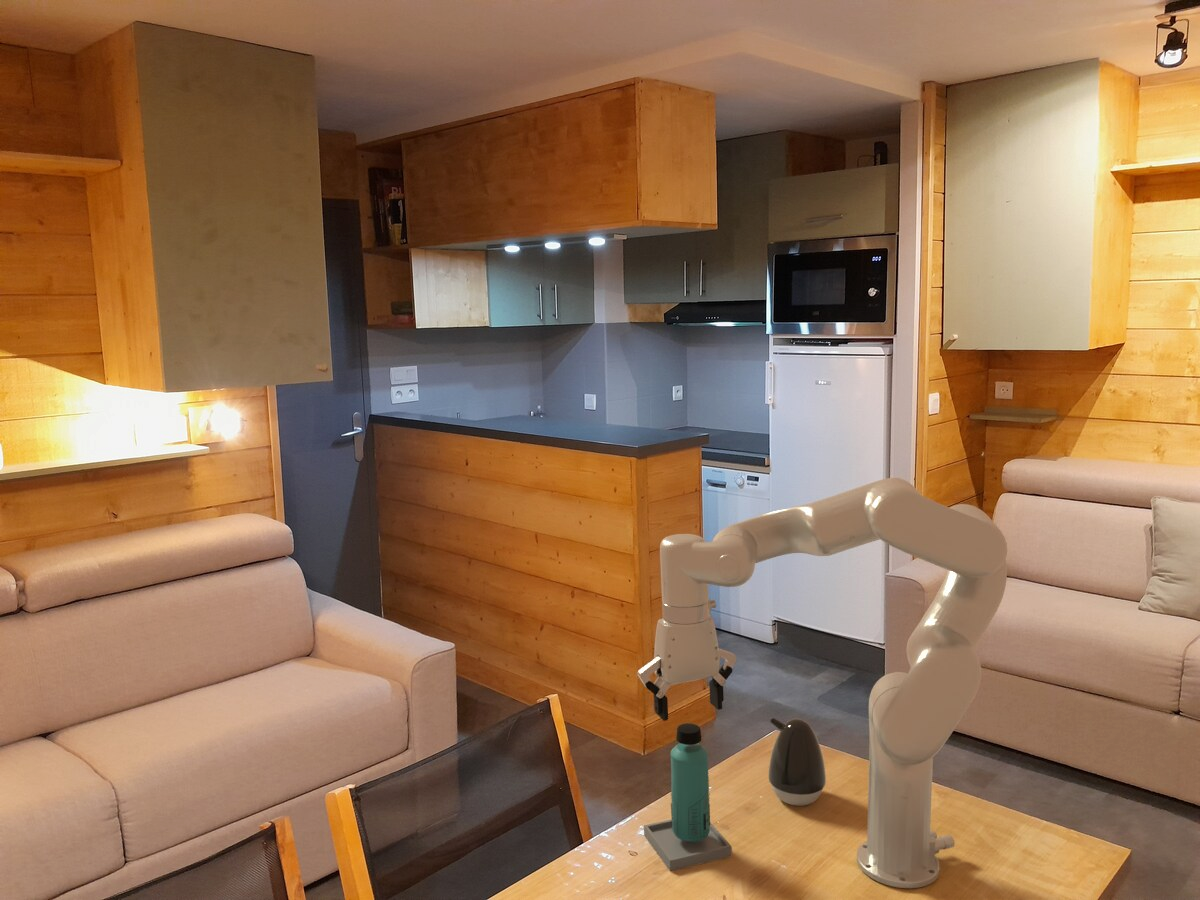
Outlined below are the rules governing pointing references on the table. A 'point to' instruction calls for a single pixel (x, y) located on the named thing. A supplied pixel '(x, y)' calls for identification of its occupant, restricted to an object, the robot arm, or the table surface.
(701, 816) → the beverage bottle
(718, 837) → the tray
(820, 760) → the pump dispenser
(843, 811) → the table surface
